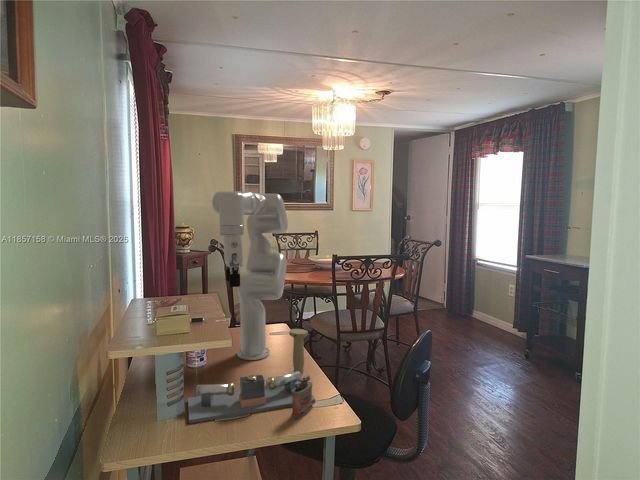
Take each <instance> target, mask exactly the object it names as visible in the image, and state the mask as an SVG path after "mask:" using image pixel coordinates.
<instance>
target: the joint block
mask: <svg viewBox="0 0 640 480" xmlns="http://www.w3.org/2000/svg"><path fill="white" fill-rule="evenodd" d="M239 383H240V384H239V386H240V387H239V389H240V394H241V398H242V400H245V399H252V398H259V397H265V393H264V387H265V379H264V376H263V375H262V374H258V375H257V374H256V375H254V374H251V375H247V376H242V377H239Z"/></svg>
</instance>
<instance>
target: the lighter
mask: <svg viewBox="0 0 640 480" xmlns="http://www.w3.org/2000/svg"><path fill="white" fill-rule="evenodd" d="M312 395H313V382H311V376H310V375H309V374H306V375H305V376H303V377H302V378H299V379H298V381H297V382H296V383H295V388H294V389H293V390H292V406H291V407H292V410H291V411H292V413H291V418H293V420H294V419H295V420H298V419H299V420H300V419H301V418H303V417H305V416H306V415H307V414H309V413H310V412H311V411H312V410H313V403H312Z"/></svg>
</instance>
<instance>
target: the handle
mask: <svg viewBox="0 0 640 480" xmlns="http://www.w3.org/2000/svg"><path fill="white" fill-rule="evenodd" d="M288 333H289V336H291V337H292V338H293V349H292V365H293V372H296V371H299V372H300V373H301V375H303V373H304V367H305V348H304V347H305V345H304V338H306V337H307V336H308V330H307V329H302V328H291V329H290V330H289V331H288Z"/></svg>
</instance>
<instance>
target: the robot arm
mask: <svg viewBox="0 0 640 480" xmlns="http://www.w3.org/2000/svg"><path fill="white" fill-rule="evenodd" d="M211 203H212V208H213V210H214V211H215V213H217V214H219V236H221V237H223V258H224V263H225V266H226V267H225V280H226V282H229V287H230V288H237V293H238V298H239V312H240V348H239V349H238V350H237V351H236V356H237V357H238V358H239V359H241V360H245V361H257V360H262V359H265V358H267V357H269V355H270V353H271V352H270V349H269V347H267V346H266V342H267V340H266V338H267V337H266V335H267V333H266V308H265V306H264V304H263V303H262V301H261V300H268V301H269V300H273V301H275V300H279V299H281V298H282V296H283V293H284V289H285V280H286V275H287V265H288V263H287V258H286V256H285V255H284V254H283V253H282V252H272V251H271V250H272V245H271V242H270V241H269V240H268V238H267V237H266V236H265V235H263V234H283V233H286V231H287V230H288V227H289V222H288V221H289V220H288V215H287V211H286V210H287V209H286V206H285V203H284V199H283V198H282V196H281V195H280V194H278V193H259V192H258V193H257V192H252V191H239V190H238V191H237V190H236V191H235V190H234V191H228V190H227V191H226V190H225V191H221V190H220V191H217V192H215V194H214V195H213V197H212V202H211ZM245 216H248V217H247V218H246V228H247V229H246V230H247V234H248V239H249V242H250V247H249V252H248V257H247V260H246V266H245V267H246V271H247V274H244V275H241V271H240V268H242V267H243V266H244V258H243V257H244V253H243V242H242V241H243V240H242V236H244V235H245V234H244V233H245V230H244V229H245V227H244V225H245V222H244V220H245V218H244V217H245Z"/></svg>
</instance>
